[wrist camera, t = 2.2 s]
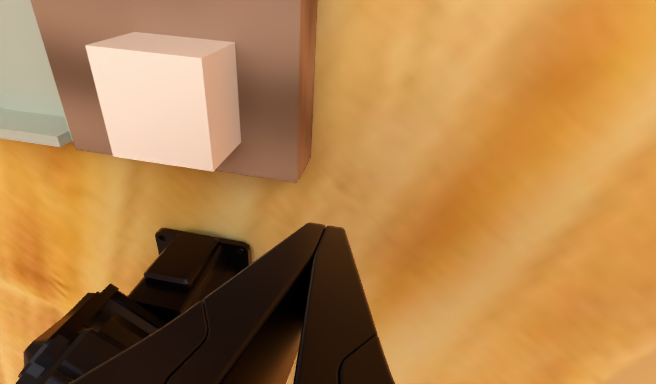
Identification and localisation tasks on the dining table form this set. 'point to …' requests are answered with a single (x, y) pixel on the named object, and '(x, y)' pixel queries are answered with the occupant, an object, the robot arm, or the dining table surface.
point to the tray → (27, 81)
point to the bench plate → (203, 23)
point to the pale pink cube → (168, 98)
